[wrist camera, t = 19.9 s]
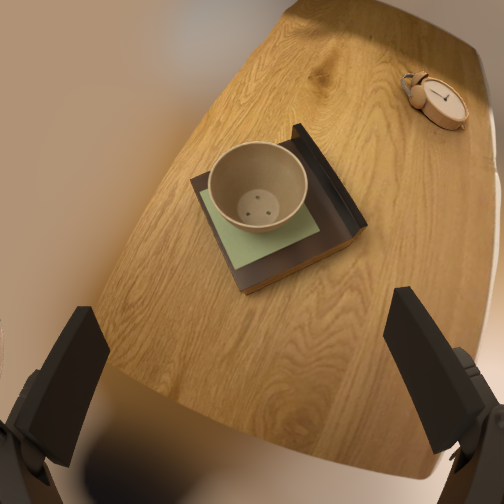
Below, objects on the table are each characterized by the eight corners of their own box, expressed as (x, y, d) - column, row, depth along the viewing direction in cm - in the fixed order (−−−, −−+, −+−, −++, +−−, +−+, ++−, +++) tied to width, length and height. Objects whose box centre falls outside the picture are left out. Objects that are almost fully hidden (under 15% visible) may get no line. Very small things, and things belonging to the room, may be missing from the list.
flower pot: (200, 209, 37) (188, 180, 31) (259, 161, 39) (259, 126, 32) (256, 267, 35) (255, 248, 28) (316, 212, 37) (327, 183, 30)
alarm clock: (469, 132, 42) (405, 84, 42) (454, 144, 47) (392, 100, 47) (468, 98, 45) (411, 56, 45) (456, 110, 50) (400, 70, 50)
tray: (242, 297, 38) (238, 286, 32) (195, 193, 43) (184, 167, 36) (351, 244, 40) (368, 224, 33) (295, 152, 44) (300, 122, 38)
